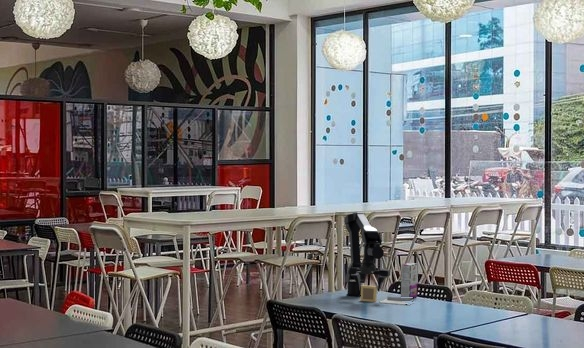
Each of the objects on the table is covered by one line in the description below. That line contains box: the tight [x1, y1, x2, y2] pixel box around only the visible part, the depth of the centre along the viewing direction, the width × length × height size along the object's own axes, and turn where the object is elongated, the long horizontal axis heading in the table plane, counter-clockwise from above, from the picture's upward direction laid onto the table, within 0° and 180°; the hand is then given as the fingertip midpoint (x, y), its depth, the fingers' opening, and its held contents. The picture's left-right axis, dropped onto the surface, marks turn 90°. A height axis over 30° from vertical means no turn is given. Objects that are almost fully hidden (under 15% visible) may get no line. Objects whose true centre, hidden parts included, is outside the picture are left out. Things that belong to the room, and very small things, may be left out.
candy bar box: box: [400, 262, 419, 298], centre depth 418 cm, size 11×5×16 cm, turn 154°
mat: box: [379, 296, 412, 306], centre depth 399 cm, size 14×14×2 cm
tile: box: [360, 284, 378, 303], centre depth 401 cm, size 7×2×7 cm, turn 71°
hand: (368, 290), depth 401 cm, fingers open, 9 cm apart
